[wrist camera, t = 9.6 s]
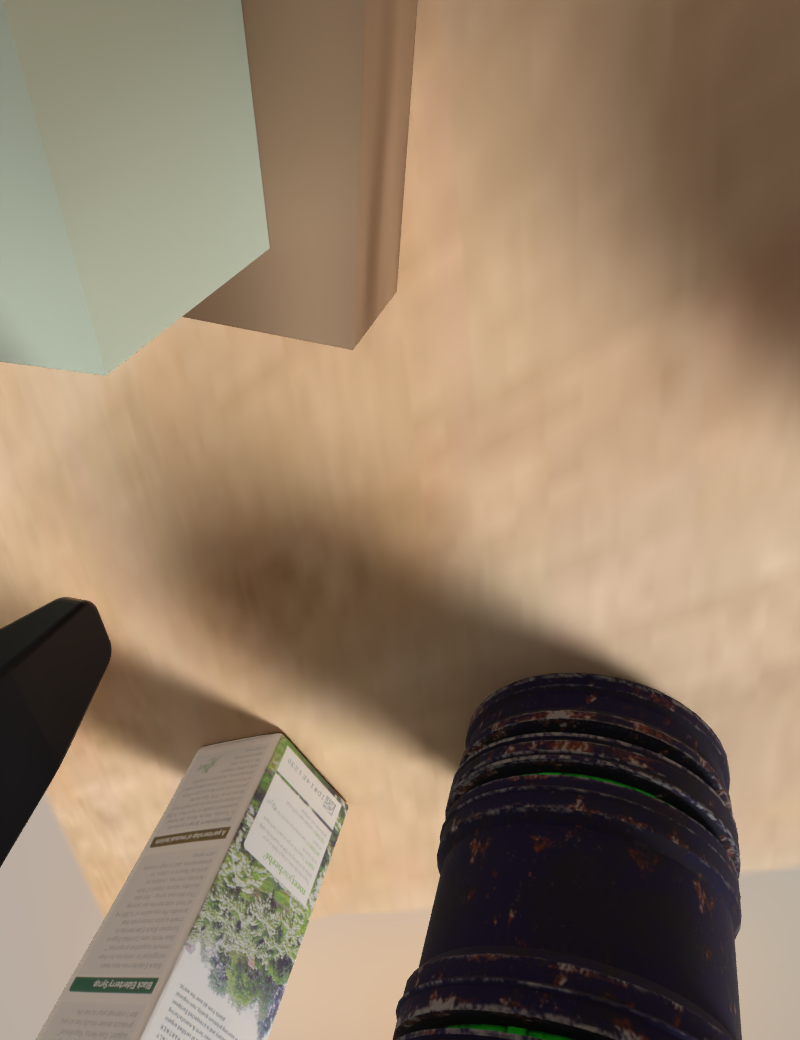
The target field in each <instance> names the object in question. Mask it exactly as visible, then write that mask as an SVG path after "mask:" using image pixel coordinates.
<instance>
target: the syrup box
mask: <svg viewBox="0 0 800 1040" xmlns="http://www.w3.org/2000/svg"><path fill="white" fill-rule="evenodd" d="M347 810H348V805H347V804H346V803H345V802H344V800H343V799H342V798H341V797H340V796H339V795H338V794H337V793H336V792H335V791H334V790H333V788H332V787H331V786H330V785H329V784H328V783H327V782H326V781H325V780H324V779H323V777H322V776H321V775H320V774H319V773H318V772H317V771H316V770H315V769H314V767H313V766H312V765H311V764H310V763H309V762H308V761H307V760H306V759H305V758H304V757H303V755H302V754H301V753H300V752H299V751H298V750H297V749H296V748H295V747H294V746H293V744H292V743H291V742H290V741H289V740H288V739H287V738H286V737H285V736H284V735H283V734H281V733H276V734H268V735H261V736H255V737H249V738H244V739H239V740H234V741H229V742H224V743H219V744H214V745H209V746H205V747H201V748H200V749H199V750H198V751H197V753H196V754H195V756H194V758H193V760H192V762H191V764H190V765H189V767H188V769H187V771H186V773H185V775H184V777H183V778H182V780H181V782H180V784H179V786H178V788H177V790H176V792H175V794H174V796H173V798H172V799H171V801H170V803H169V805H168V807H167V809H166V811H165V812H164V814H163V816H162V818H161V819H160V821H159V823H158V825H157V827H156V828H155V830H154V832H153V834H152V836H151V837H150V839H149V841H148V843H147V844H146V846H145V848H144V850H143V852H142V853H141V855H140V857H139V859H138V861H137V862H136V864H135V866H134V868H133V869H132V871H131V873H130V875H129V876H128V878H127V880H126V882H125V884H124V885H123V887H122V889H121V891H120V893H119V894H118V896H117V898H116V900H115V901H114V903H113V905H112V907H111V908H110V910H109V912H108V914H107V915H106V917H105V919H104V921H103V922H102V924H101V926H100V928H99V929H98V931H97V933H96V935H95V936H94V938H93V940H92V942H91V943H90V945H89V947H88V949H87V951H86V952H85V954H84V956H83V957H82V959H81V961H80V963H79V964H78V966H77V968H76V969H75V971H74V973H73V975H72V976H71V978H70V980H69V981H68V983H67V985H66V987H65V988H64V990H63V992H62V994H61V996H60V997H59V999H58V1001H57V1003H56V1004H55V1006H54V1008H53V1010H52V1012H51V1013H50V1015H49V1017H48V1019H47V1021H46V1022H45V1024H44V1025H43V1027H42V1029H41V1031H40V1033H39V1034H38V1036H37V1038H36V1040H267V1039H268V1036H269V1033H270V1031H271V1028H272V1025H273V1022H274V1019H275V1016H276V1013H277V1010H278V1007H279V1005H280V1002H281V999H282V996H283V993H284V990H285V987H286V984H287V981H288V978H289V975H290V972H291V970H292V967H293V965H294V962H295V959H296V956H297V953H298V950H299V948H300V945H301V942H302V939H303V937H304V933H305V930H306V927H307V925H308V922H309V919H310V916H311V913H312V910H313V907H314V904H315V902H316V899H317V896H318V893H319V890H320V887H321V884H322V881H323V879H324V876H325V873H326V871H327V867H328V864H329V862H330V859H331V856H332V853H333V850H334V847H335V844H336V841H337V838H338V836H339V833H340V830H341V828H342V825H343V822H344V818H345V816H346V813H347Z"/></svg>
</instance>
